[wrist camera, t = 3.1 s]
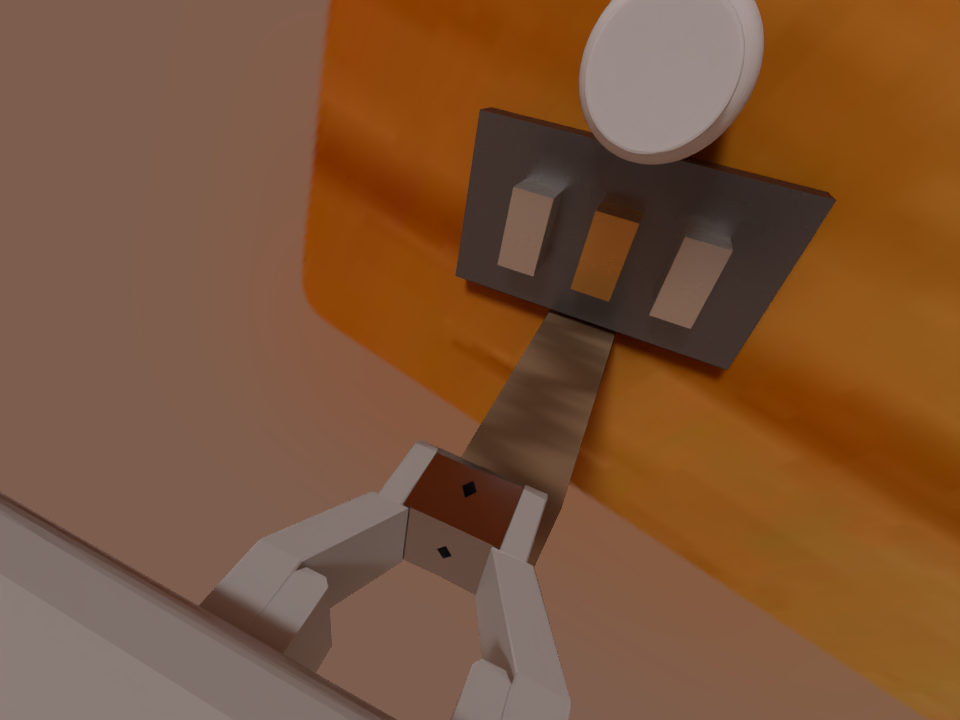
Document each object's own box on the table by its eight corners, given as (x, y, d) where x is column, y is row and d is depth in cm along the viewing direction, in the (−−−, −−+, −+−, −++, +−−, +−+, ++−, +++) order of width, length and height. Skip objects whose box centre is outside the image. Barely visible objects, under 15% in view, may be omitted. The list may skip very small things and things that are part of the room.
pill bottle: (664, 166, 21) (645, 221, 14) (584, 83, 21) (519, 94, 13) (775, 58, 18) (832, 52, 10) (683, -44, 17) (672, -128, 10)
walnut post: (617, 326, 26) (561, 508, 16) (595, 378, 29) (534, 566, 18) (553, 304, 27) (457, 462, 16) (537, 356, 30) (445, 523, 19)
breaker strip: (827, 192, 19) (849, 212, 17) (726, 355, 25) (729, 391, 22) (490, 107, 23) (463, 112, 20) (465, 267, 28) (440, 288, 25)
